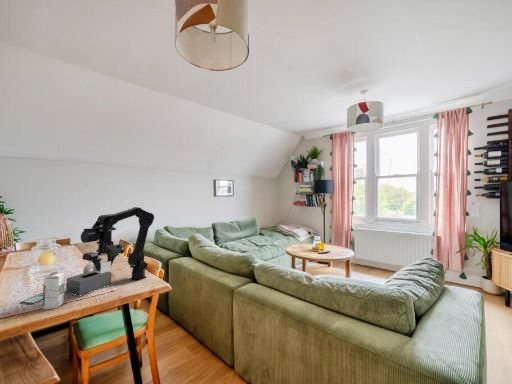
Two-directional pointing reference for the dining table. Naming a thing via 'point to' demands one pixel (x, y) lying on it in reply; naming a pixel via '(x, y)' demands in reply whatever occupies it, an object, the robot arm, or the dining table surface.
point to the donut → (89, 267)
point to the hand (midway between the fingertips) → (104, 269)
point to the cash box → (87, 282)
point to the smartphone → (33, 299)
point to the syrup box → (53, 290)
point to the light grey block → (105, 266)
